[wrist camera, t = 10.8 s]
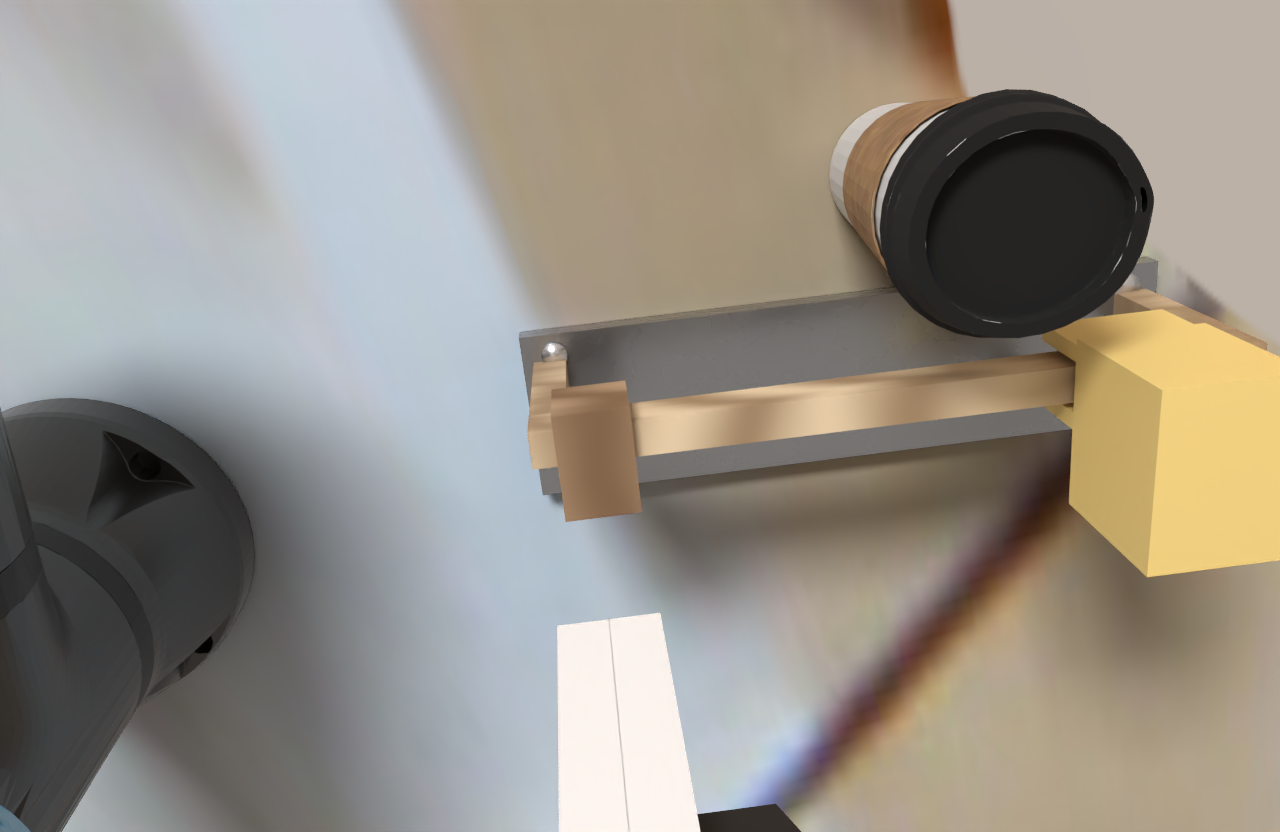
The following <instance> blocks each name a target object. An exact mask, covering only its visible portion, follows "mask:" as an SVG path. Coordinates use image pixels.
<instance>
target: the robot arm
mask: <svg viewBox="0 0 1280 832" xmlns="http://www.w3.org/2000/svg"><path fill="white" fill-rule="evenodd" d="M253 570H254V543H253V536H252V531H251V526H250V523H249V520H248V516H247V513H246V511H245V508H244V506H243V504H242V502H241V500H240V498H239V496H238V494H237V492H236V490H235V489H234V487H233V485H232V484H231V482H230V481H229V479H228V478H227V476H226V475H225V474H224V473H223V471H222V470H221V469H220V468H219V466H218V465H217V464H216V463H215V462H214V461H213V460H212V459H211V458H210V457H209V456H208V455H207V454H206V453H205V452H204V451H203V450H202V449H201V448H200V447H199V446H197V445H196V444H195V443H194V442H193V441H191V440H190V439H189V438H187V437H186V436H184V435H183V434H182V433H180V432H179V431H177V430H175V429H174V428H172V427H171V426H169V425H167V424H165V423H163V422H162V421H160V420H158V419H155V418H153V417H151V416H149V415H147V414H144V413H142V412H139V411H137V410H134V409H131V408H127V407H124V406H121V405H117V404H113V403H108V402H103V401H97V400H89V399H74V398H67V399H49V400H42V401H36V402H31V403H27V404H23V405H19V406H16V407H13V408H10V409H8V410H5V411H3V412H1V408H0V832H62V830H63V829H64V827H65V825H66V824H67V822H68V820H69V819H70V817H71V815H72V814H73V812H74V810H75V809H76V807H77V806H78V804H79V802H80V801H81V799H82V797H83V796H84V794H85V792H86V791H87V789H88V787H89V786H90V784H91V782H92V781H93V779H94V777H95V776H96V774H97V772H98V771H99V769H100V767H101V766H102V764H103V762H104V761H105V759H106V758H107V756H108V754H109V753H110V751H111V749H112V748H113V746H114V745H115V743H116V741H117V740H118V738H119V737H120V735H121V733H122V732H123V730H124V728H125V727H126V725H127V724H128V722H129V720H130V719H131V717H132V715H133V713H134V712H135V710H136V709H137V707H139V706H141V705H142V704H144V703H145V702H147V701H148V700H150V699H151V698H153V697H154V696H156V695H157V694H159V693H160V692H162V691H163V690H165V689H166V688H168V687H169V686H171V685H172V684H174V683H175V682H177V681H178V680H180V679H181V678H183V677H184V676H186V675H187V674H189V673H190V672H192V671H193V670H194V669H195V668H197V667H198V666H199V665H201V664H202V663H203V662H204V661H205V660H206V659H207V658H208V657H209V656H210V655H211V654H212V653H213V652H214V650H215V649H216V648H217V647H218V646H219V645H220V643H221V642H222V641H223V639H224V638H225V636H226V635H227V633H228V632H229V630H230V628H231V626H232V625H233V623H234V621H235V619H236V617H237V616H238V614H239V612H240V610H241V608H242V606H243V604H244V602H245V600H246V597H247V595H248V592H249V589H250V586H251V581H252V577H253ZM557 637H558V760H559V832H801V831H800V830H799V829H798V828H797V827H796V825H795V824H794V823H793V822H792V821H791V820H790V819H789V818H788V817H787V816H786V815H785V813H784V812H783V811H782V810H781V809H780V808H779V807H778V806H777V805H776V804H771V805H764V806H756V807H749V808H741V809H734V810H726V811H719V812H712V813H704V814H697V810H696V804H695V799H694V794H693V788H692V783H691V777H690V772H689V766H688V761H687V756H686V750H685V745H684V739H683V734H682V728H681V723H680V718H679V712H678V707H677V701H676V696H675V690H674V685H673V679H672V674H671V669H670V663H669V658H668V652H667V647H666V641H665V636H664V631H663V625H662V620H661V614H660V613H655V614H647V615H639V616H631V617H623V618H615V619H607V620H600V621H592V622H584V623H576V624H568V625H560V626H557Z"/></svg>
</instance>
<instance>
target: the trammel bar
mask: <svg viewBox="0 0 1280 832" xmlns="http://www.w3.org/2000/svg"><path fill="white" fill-rule="evenodd" d="M1159 309H1163V310H1165V311H1167V312H1169V313H1172V314H1174V315H1176V316H1178V317H1180V318H1182V319H1184V320H1186V321H1189V322H1191V323H1193V324H1200V323H1207V324H1209V325H1211V326H1213V327H1215V328H1218V329H1220V330H1222V331H1224V332H1226V333H1228V334H1231V335H1233V336H1235V337H1237V338H1239V339H1241V340H1244V341H1246V342H1248V343H1250V344H1252V345H1254V346H1257V347H1259V348H1261V349H1263V350H1265V351H1266V350H1267V343H1266V342H1264V341H1262V340H1259V339H1257V338H1255V337H1253V336H1250V335H1248V334H1246V333H1244V332H1242V331H1239V330H1237V329H1235V328H1233V327H1230V326H1228V325H1226V324H1224V323H1221V322H1219V321H1217V320H1215V319H1213V318H1210V317H1208V316H1206V315H1204V314H1201V313H1199V312H1197V311H1195V310H1193V309H1190V308H1188V307H1186V306H1184V305H1181V304H1179V303H1177V302H1175V301H1172V300H1170V299H1168V298H1166V297H1164V296H1161V295H1159V294H1157V293H1155V292H1152V291H1150V290H1148V289H1139V291H1131V292H1123V293H1117V295H1116V294H1114V309H1113V315H1118V314H1126V313H1135V312H1143V311H1151V310H1159ZM1075 369H1076V362H1075V361H1073V360H1072V359H1070V358H1069V357H1067V356H1066V355H1064V354H1063V353H1061V352H1060V351H1053V352H1045V353H1037V354H1029V355H1020V356H1012V357H1004V358H996V359H988V360H980V361H971V362H963V363H955V364H947V365H939V366H931V367H922V368H914V369H906V370H898V371H890V372H882V373H873V374H865V375H857V376H849V377H841V378H833V379H825V380H816V381H808V382H800V383H792V384H784V385H776V386H767V387H759V388H751V389H743V390H735V391H727V392H718V393H710V394H702V395H694V396H686V397H678V398H669V399H661V400H653V401H645V402H637V403H629V400H628V394H627V388H626V383H625V380H624V381H616V382H608V383H600V384H592V385H583V386H575V387H570V385H569V378H568V371H567V364H566V360H562V361H554V362H545V363H543V362H535V363H534V365H533V376H532V387H531V399H530V410H529V421H528V432H527V435H528V441H529V448H530V454H531V461H532V467H533V470H535V469H543V468H551V467H558V472H559V479H560V486H561V492H562V499H563V506H564V513H565V520H566V522H568V521H576V520H584V519H592V518H600V517H608V516H616V515H624V514H632V513H640V512H642V508H641V499H640V491H639V482H638V473H637V465H636V457H640V456H648V455H656V454H664V453H672V452H680V451H689V450H697V449H705V448H713V447H721V446H729V445H737V444H745V443H753V442H761V441H769V440H777V439H785V438H793V437H801V436H809V435H818V434H826V433H834V432H842V431H850V430H858V429H866V428H874V427H882V426H890V425H898V424H906V423H914V422H922V421H930V420H939V419H947V418H955V417H963V416H971V415H979V414H987V413H995V412H1003V411H1011V410H1019V409H1027V408H1035V407H1043V406H1051V405H1059V404H1068V403H1074V389H1075Z"/></svg>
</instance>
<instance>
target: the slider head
mask: <svg viewBox="0 0 1280 832" xmlns="http://www.w3.org/2000/svg"><path fill="white" fill-rule="evenodd" d="M1042 340H1043V341H1044V342H1046V343H1047V344H1049V345H1050V346H1052V347H1053V348H1055V349H1057V350H1058V351H1060V352H1061V353H1063V354H1064V355H1066V356H1067V357H1069V358H1070V359H1072V360H1073V361H1075V362H1076V369H1075V389H1074V403H1068V404H1059V405H1051V406H1043V407H1045V408H1046V409H1047V410H1049V411H1050V412H1051V413H1052V414H1054V415H1055V416H1056V417H1057V418H1059V419H1060V420H1061V421H1062V422H1064V423H1065V424H1066V425H1068V426H1069V427H1070V428H1071V429H1073V430H1072V450H1071V470H1070V490H1069V504H1070V505H1071V506H1072V507H1073V508H1074V509H1075V510H1076V511H1077V512H1078V513H1079V514H1080V515H1082V516H1083V517H1084V518H1085V519H1086V520H1087V521H1088V522H1089V523H1090V524H1091V525H1092V526H1093V527H1094V528H1095V529H1096V530H1097V531H1099V532H1100V533H1101V534H1102V535H1103V536H1104V537H1105V538H1106V539H1107V540H1108V541H1109V542H1110V543H1111V544H1112V545H1113V546H1114V547H1115V548H1117V549H1118V550H1119V551H1120V552H1121V553H1122V554H1123V555H1124V556H1125V557H1126V558H1127V559H1128V560H1129V561H1130V562H1131V563H1132V564H1134V565H1135V566H1136V567H1137V568H1138V569H1139V570H1140V571H1141V572H1142V573H1143V574H1144V575H1145V576H1146V577H1153V576H1161V575H1168V574H1176V573H1184V572H1192V571H1199V570H1207V569H1215V568H1223V567H1230V566H1238V565H1246V564H1253V563H1261V562H1269V561H1277V560H1280V357H1278V356H1276V355H1274V354H1272V353H1270V352H1267V351H1265V350H1263V349H1261V348H1259V347H1257V346H1254V345H1252V344H1250V343H1248V342H1246V341H1244V340H1241V339H1239V338H1237V337H1235V336H1233V335H1231V334H1228V333H1226V332H1224V331H1222V330H1220V329H1218V328H1215V327H1213V326H1211V325H1209V324H1207V323H1200V324H1193V323H1191V322H1189V321H1186V320H1184V319H1182V318H1180V317H1178V316H1176V315H1174V314H1172V313H1169V312H1167V311H1165V310H1163V309H1159V310H1151V311H1143V312H1135V313H1126V314H1118V315H1110V316H1102V317H1093V318H1085V319H1079V320H1077V321H1075V322H1073V323H1071V324H1069V325H1067V326H1065V327H1062V328H1059V329H1056V330H1053V331H1050V332H1047V333H1044V334H1042Z"/></svg>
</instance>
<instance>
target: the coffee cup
mask: <svg viewBox="0 0 1280 832" xmlns="http://www.w3.org/2000/svg"><path fill="white" fill-rule="evenodd" d="M829 179H830V189H831V192H832V195H833V198H834V201H835V203H836V205H837V207H838V208H839V210H840V212H841V213H842V215H843V216H844V217H845V218H846V219H847V220H848V221H849V223H850V224H851V225H852V226H853V227H854V229H855V230H856V232H857V233H858V234H859V236H860V237H861V238H862V239H863V241H864V242H865V243H866V245H867V246H868V247H869V248H870V250H871V251H872V252H873V254H874V255H875V256H876V258H877V259H878V260H879V261H880V263H881V264H882V265H883V267H884V268H885V269H886V270H887V272H888V274H889V276H890V278H891V280H892V281H893V283H894V285H895V287H896V289H897V290H898V292H899V294H900V295H901V296H902V297H903V298H904V299H905V300H906V302H907V303H908V304H909V305H910V306H911V307H912V308H913V310H915V311H916V312H918V313H919V314H920V315H922V316H923V317H924V318H926V319H927V320H928V321H930V322H932V323H934V324H935V325H937V326H939V327H941V328H944V329H946V330H949V331H951V332H954V333H956V334H961V335H966V336H971V337H977V338H1023V337H1029V336H1035V335H1040V334H1044V333H1047V332H1050V331H1053V330H1056V329H1059V328H1062V327H1065V326H1067V325H1069V324H1071V323H1073V322H1075V321H1077V320H1079V319H1081V318H1083V317H1085V316H1087V315H1088V314H1089V313H1091V312H1092V311H1094V310H1095V309H1097V308H1098V307H1099V306H1101V305H1102V304H1104V303H1105V302H1106V301H1107V300H1108V299H1109V298H1110V297H1111V296H1112V295H1113V294H1115V293H1116V292H1117V291H1118V290H1119V289H1120V288H1121V287H1122V285H1123V284H1124V283H1125V281H1126V280H1127V278H1128V277H1129V275H1130V274H1131V272H1132V271H1133V270H1134V268H1135V266H1136V263H1137V261H1138V259H1139V257H1140V255H1141V253H1142V250H1143V247H1144V244H1145V241H1146V238H1147V235H1148V230H1149V226H1150V222H1151V217H1152V212H1153V205H1154V196H1153V191H1152V188H1151V185H1150V183H1149V180H1148V178H1147V176H1146V173H1145V171H1144V169H1143V167H1142V165H1141V163H1140V162H1139V160H1138V159H1137V157H1136V155H1135V154H1134V152H1133V150H1132V149H1131V148H1130V147H1129V146H1128V144H1127V143H1126V142H1125V141H1124V140H1123V138H1122V137H1121V136H1120V135H1118V134H1117V133H1116V132H1114V131H1113V130H1111V129H1110V128H1109V127H1107V126H1106V125H1105V124H1103V123H1101V122H1100V121H1098V120H1097V119H1096V118H1095V117H1093V116H1092V115H1091V114H1090V113H1089V112H1087V111H1086V110H1085V109H1083V108H1081V107H1079V106H1077V105H1075V104H1072V103H1070V102H1068V101H1066V100H1064V99H1061V98H1058V97H1056V96H1054V95H1050V94H1046V93H1041V92H1037V91H1033V90H1008V89H1006V90H1001V91H996V92H990V93H985V94H981V95H978V96H976V97H965V98H954V99H943V100H932V101H921V102H915V103H893V104H888V105H882V106H879V107H877V108H874V109H872V110H870V111H868V112H866V113H865V114H863V115H862V116H860V117H859V118H857V119H856V120H855V121H854V122H853V123H852V124H851V125H850V126H849V127H848V128H847V129H846V131H845V132H844V133H843V135H842V136H841V137H840V139H839V141H838V143H837V145H836V147H835V149H834V152H833V156H832V159H831V163H830V173H829Z"/></svg>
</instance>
